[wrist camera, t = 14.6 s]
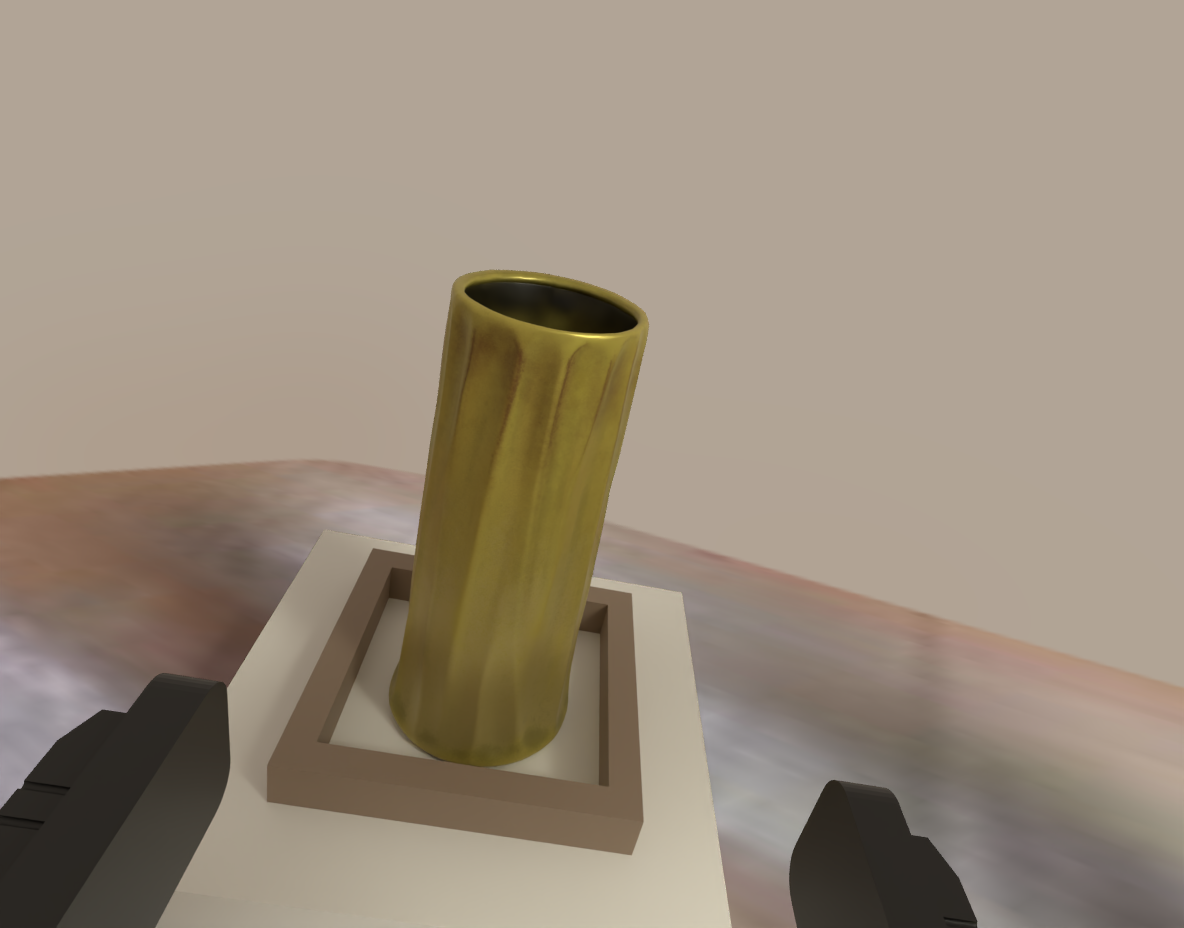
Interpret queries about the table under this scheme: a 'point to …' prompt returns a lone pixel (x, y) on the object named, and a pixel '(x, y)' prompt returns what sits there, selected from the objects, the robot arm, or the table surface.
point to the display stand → (454, 778)
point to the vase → (512, 510)
